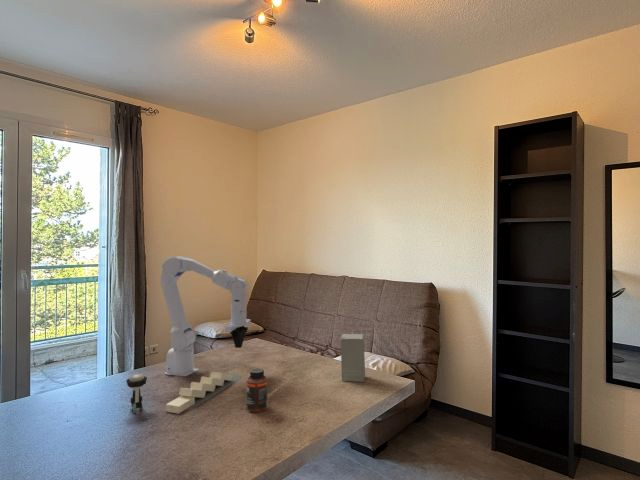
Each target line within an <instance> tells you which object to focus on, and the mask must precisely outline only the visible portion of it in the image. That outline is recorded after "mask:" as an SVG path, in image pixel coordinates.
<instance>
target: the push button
mask: <svg viewBox="0 0 640 480" xmlns="http://www.w3.org/2000/svg"><path fill="white" fill-rule="evenodd" d="M147 380H148V377H147V376H145V375H144V373H134V374H131V375H130V376H129V378H127V379H126V386H127V387H129V388H131V389H133V390H132V397H130V411H133V413H136V415H139V414H140V412H141V409H143V396H142V395H141V388H142V387H143V386H144V385H147Z"/></svg>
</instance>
